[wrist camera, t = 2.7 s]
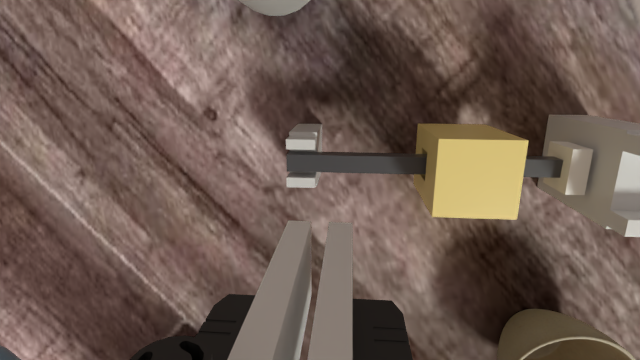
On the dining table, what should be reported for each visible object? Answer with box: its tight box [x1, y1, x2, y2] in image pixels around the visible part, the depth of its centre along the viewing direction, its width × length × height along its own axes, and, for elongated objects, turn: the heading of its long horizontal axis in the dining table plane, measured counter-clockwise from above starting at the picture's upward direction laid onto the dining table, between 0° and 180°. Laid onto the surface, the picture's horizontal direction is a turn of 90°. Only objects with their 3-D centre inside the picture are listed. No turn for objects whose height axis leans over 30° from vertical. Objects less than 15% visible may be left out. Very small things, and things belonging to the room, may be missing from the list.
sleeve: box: [414, 124, 529, 220], centre depth 26 cm, size 5×5×7 cm
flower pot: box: [497, 309, 636, 360], centre depth 32 cm, size 10×10×7 cm
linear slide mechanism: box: [286, 115, 640, 237], centre depth 27 cm, size 23×6×11 cm, turn 90°
